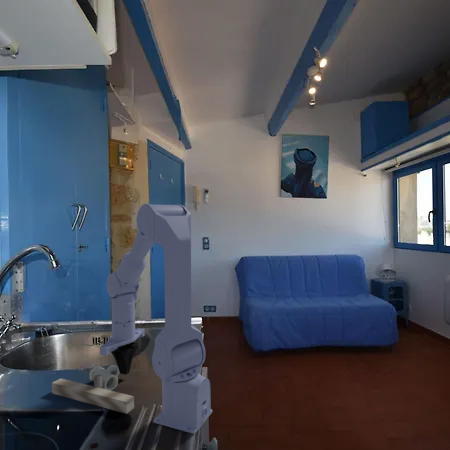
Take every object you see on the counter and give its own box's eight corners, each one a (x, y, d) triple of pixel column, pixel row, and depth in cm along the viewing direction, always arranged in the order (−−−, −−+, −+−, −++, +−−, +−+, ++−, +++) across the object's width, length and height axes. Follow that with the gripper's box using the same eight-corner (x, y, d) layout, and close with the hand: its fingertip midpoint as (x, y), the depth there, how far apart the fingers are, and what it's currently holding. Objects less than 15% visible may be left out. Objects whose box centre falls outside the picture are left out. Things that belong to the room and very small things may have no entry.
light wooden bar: (139, 403, 73) (139, 383, 73) (126, 413, 69) (126, 392, 69) (67, 385, 82) (66, 367, 82) (52, 393, 78) (51, 374, 78)
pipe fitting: (113, 375, 88) (88, 382, 83) (114, 360, 88) (89, 367, 83) (130, 385, 82) (104, 393, 77) (130, 369, 83) (105, 376, 78)
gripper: (129, 311, 93) (130, 359, 93) (89, 326, 79) (90, 382, 80) (150, 313, 90) (151, 363, 90) (112, 330, 77) (113, 388, 77)
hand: (124, 372), depth 85 cm, fingers closed
